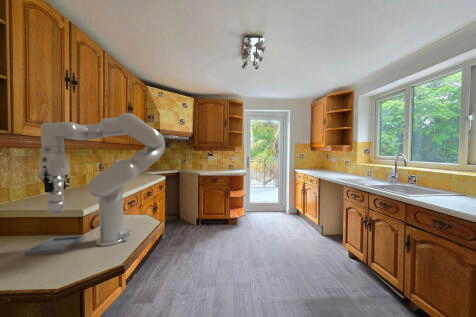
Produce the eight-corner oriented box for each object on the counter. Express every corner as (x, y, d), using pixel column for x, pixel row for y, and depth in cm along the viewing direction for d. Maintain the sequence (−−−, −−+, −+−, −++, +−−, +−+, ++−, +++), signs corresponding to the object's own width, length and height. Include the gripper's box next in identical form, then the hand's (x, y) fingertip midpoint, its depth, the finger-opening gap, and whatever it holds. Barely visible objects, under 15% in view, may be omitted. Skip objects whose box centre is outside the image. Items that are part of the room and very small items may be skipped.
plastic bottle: (54, 215, 87) (52, 168, 87) (42, 214, 89) (40, 169, 88) (70, 211, 93) (67, 167, 93) (58, 210, 95) (56, 168, 95)
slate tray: (85, 239, 99) (85, 235, 99) (62, 253, 84) (62, 248, 84) (53, 241, 98) (53, 237, 98) (24, 255, 83) (24, 251, 83)
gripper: (45, 149, 82) (48, 193, 83) (76, 151, 100) (78, 187, 100) (25, 150, 82) (28, 194, 82) (60, 151, 99) (62, 188, 99)
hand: (55, 190), depth 91 cm, fingers closed on plastic bottle, 6 cm apart
